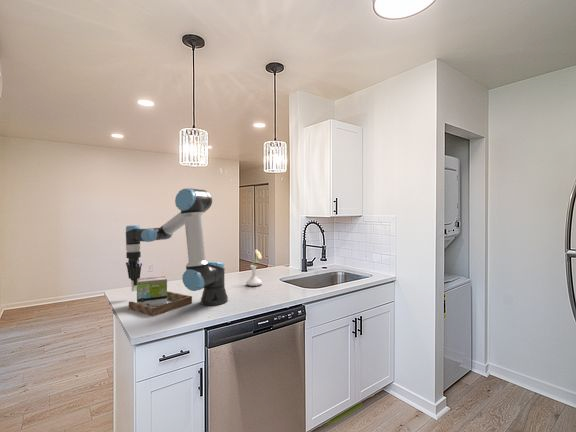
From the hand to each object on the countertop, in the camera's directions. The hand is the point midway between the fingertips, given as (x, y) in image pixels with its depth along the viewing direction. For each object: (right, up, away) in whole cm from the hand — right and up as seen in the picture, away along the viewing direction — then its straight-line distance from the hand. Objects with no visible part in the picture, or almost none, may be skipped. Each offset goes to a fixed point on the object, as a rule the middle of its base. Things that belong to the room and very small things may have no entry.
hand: (134, 290), depth 178 cm
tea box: (+15, -6, -10) cm, 18 cm away
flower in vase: (+68, -5, +34) cm, 76 cm away
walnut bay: (+22, -5, -13) cm, 26 cm away
